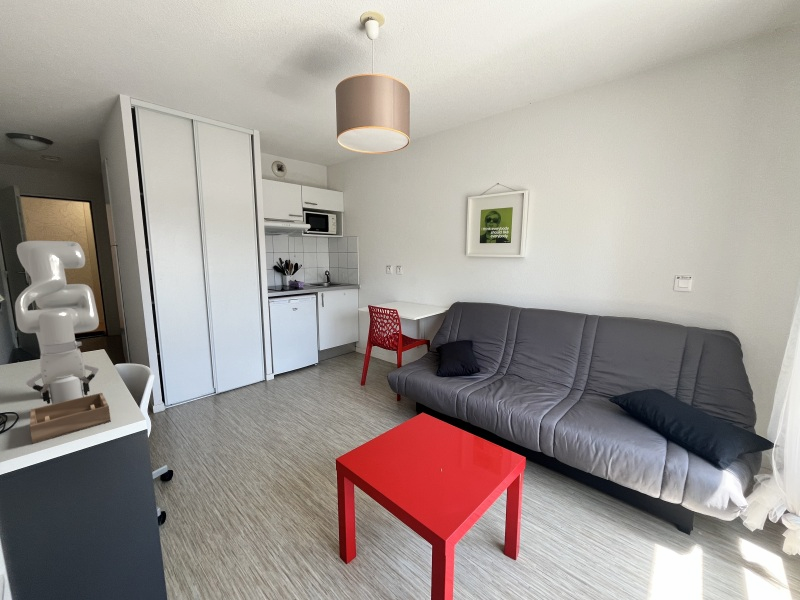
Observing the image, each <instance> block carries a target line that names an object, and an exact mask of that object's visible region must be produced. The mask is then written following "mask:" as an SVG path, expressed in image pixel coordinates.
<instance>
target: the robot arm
mask: <svg viewBox="0 0 800 600" xmlns="http://www.w3.org/2000/svg"><path fill="white" fill-rule="evenodd" d="M16 246H17V247H16V254H17V257H18V259H19V262H20V264H21V266H22V267H23V268H24V269H25V271H26V272H27V274H28V275H29V276H30V280H31V284H30V285H29V286H27V287H26V288H25V289H24V290H23V291H21V293H19V295H18V297H17V298H16V301H15V303H14V311H15V318H16V319H15V320H16V325H17V326H16V327H17V328H18V329H19V330H20V332H22V333H25V334H36V337H37V341H38V344H39V349H40V356H39V357H40V361H39V367H40V368H39V369H40V372H39V373H38V374H36V375H34V376H33V377H31V378H30V379H28V380H27V381H26V382H25V384H26V385H27V386H28V387H30V388H31V389H33V390H35V391H38V392H40V393H41V394H40V396H41V397H42V400H43V402H46V404H47V405H50V404H51V395H50V389H49V386H50V385H51V383H52V382H53V381H55V380H56V379H55V378H58V377H65V376H69V375H73V376H74V377H78V378H79V379H80V380H81V383H82V390H83V396H89V395H88V392H91V391H90V382H91V381H92V380H93V378H95V376H96V375H97V373H98V372H99V368H98V367H95V366H92V365H87V364H85V362H84V358H83V354H82V352H81V349H80V348H78V347H80V346H83V344H82V341H76V337H75V334H77V333H85V332H91V331H95V330H96V329H98V328H99V325H100V323H99V322H100V320H99V314H98V310H97V305H96V300H95V296H94V291H93V290H92V288H91V287H90V286H89V285H88V284H85V283H71V284H67V278H66V272H65V269H81V268H84V267H85V265H86V256H85V252H84V250H83V248H82V246H81V245H80V243H78V242H76V241H73V240H71V241H68V240H66V241H64V240H62V241H61V240H55V241H54V240H29V241H28V240H27V241H22V242H20V243H18V244H17V245H16ZM34 301H35V303H36V306H37V307H38V308H39V309H35V310H34V309H31V310H28V309H29V306H30V304H32V303H33V302H34ZM86 371H91V372H90V374H89V375H88V376H86ZM40 379H41V381H42V386H41V385H40V384H37V383H35V382H36V381H39V380H40Z"/></svg>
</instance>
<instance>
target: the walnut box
mask: <svg viewBox="0 0 800 600" xmlns="http://www.w3.org/2000/svg"><path fill="white" fill-rule="evenodd" d="M111 421H112V419H111V414H110V406H109V404H108V402H107V400H106V398H105V395H104V394H103V392H100V393H96V394H91V395H85V396H83V397H81V398H77V399H73V400H69V401H64V402H60V403H56V404H52V403H50V404H47V405H43V406H39V407H35V408H31V409H30V419H29V429H30V437H31V441H32V445H34V444H37V443H41V442H44V441H49V440H51V439H55V438H58V437H62V436H65V435H70V434H72V433H73V434H74V433H76V432H79V431H83V430H86V429H90V428H94V427H96V426H100V425H101V426H102V425H104V424H107V423H111Z"/></svg>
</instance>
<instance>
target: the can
mask: <svg viewBox="0 0 800 600" xmlns="http://www.w3.org/2000/svg"><path fill="white" fill-rule="evenodd" d="M55 379H56V380H55V381H53V382H52V383H51V385H50V386H49V389H50V395H51V398H50V402H51V404H56V403H60V402H64V401H69V400H73V399H77V398H81V397H84V390H82V383H83V382H82V383H81V380H80V379H79V378H78V377H74V376H73V375H69V376H65V377H58V378H55Z"/></svg>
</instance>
